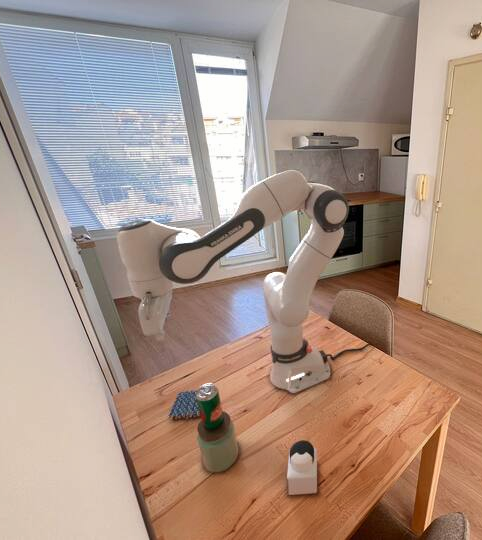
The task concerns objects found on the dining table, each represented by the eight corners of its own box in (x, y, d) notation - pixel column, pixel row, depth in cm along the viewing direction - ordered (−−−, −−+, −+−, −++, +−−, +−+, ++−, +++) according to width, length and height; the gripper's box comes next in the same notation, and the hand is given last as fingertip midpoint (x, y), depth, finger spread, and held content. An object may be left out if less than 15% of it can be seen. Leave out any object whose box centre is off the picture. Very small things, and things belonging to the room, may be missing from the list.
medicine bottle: (290, 466, 80) (288, 437, 75) (316, 464, 80) (316, 435, 75) (288, 495, 73) (285, 465, 68) (316, 493, 74) (316, 463, 69)
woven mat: (204, 417, 93) (203, 412, 92) (168, 421, 91) (167, 416, 90) (212, 391, 102) (211, 387, 101) (180, 394, 101) (179, 390, 100)
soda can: (217, 434, 74) (209, 400, 69) (199, 430, 75) (190, 396, 70) (228, 417, 78) (221, 384, 73) (211, 413, 79) (203, 380, 74)
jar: (237, 436, 87) (231, 405, 82) (239, 465, 80) (232, 433, 74) (204, 446, 84) (196, 414, 79) (203, 477, 77) (193, 444, 71)
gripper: (158, 302, 67) (171, 350, 72) (171, 267, 84) (181, 308, 90) (125, 306, 64) (142, 356, 70) (145, 269, 82) (157, 311, 87)
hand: (164, 328), depth 80 cm, fingers open, 8 cm apart
